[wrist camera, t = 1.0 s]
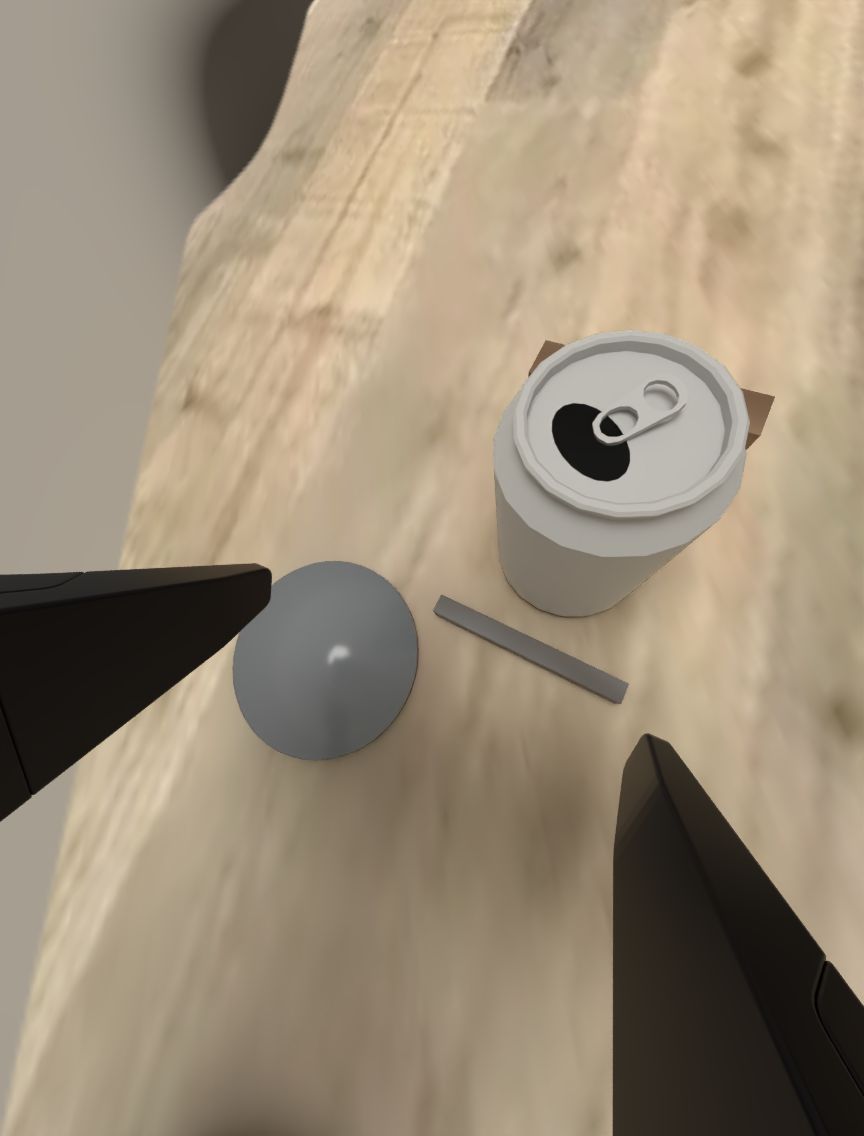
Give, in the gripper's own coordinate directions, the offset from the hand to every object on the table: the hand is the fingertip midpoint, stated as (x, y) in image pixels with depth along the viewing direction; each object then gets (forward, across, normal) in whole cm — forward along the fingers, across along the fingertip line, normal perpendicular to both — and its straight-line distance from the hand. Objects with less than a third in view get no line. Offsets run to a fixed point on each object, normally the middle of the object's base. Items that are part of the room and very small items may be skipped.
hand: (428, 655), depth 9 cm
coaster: (+9, +8, +10) cm, 16 cm away
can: (+16, -2, +2) cm, 16 cm away
